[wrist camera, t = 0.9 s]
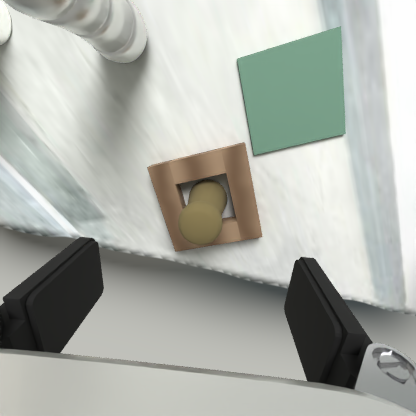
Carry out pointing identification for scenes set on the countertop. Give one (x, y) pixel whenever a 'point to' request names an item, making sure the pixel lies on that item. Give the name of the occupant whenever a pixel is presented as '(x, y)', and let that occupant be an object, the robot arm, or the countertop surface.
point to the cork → (203, 213)
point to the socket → (201, 168)
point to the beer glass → (4, 23)
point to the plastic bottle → (94, 23)
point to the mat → (294, 92)
